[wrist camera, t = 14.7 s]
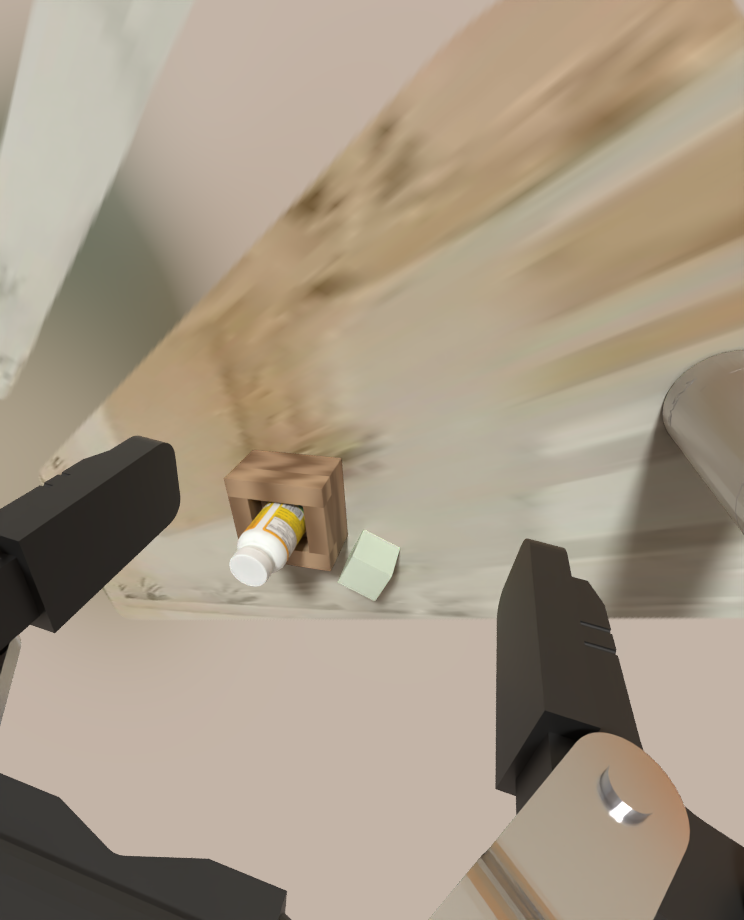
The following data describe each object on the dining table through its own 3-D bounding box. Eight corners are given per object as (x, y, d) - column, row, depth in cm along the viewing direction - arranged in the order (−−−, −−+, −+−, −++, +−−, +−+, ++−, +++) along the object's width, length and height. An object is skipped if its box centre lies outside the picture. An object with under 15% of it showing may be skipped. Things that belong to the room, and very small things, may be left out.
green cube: (400, 547, 53) (391, 576, 49) (384, 572, 56) (374, 601, 52) (364, 528, 53) (352, 556, 49) (349, 554, 56) (337, 582, 52)
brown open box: (341, 458, 49) (321, 489, 44) (347, 534, 54) (330, 571, 49) (252, 449, 52) (223, 478, 46) (267, 524, 57) (242, 557, 52)
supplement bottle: (308, 495, 48) (268, 553, 40) (314, 533, 50) (278, 595, 42) (263, 490, 49) (216, 546, 41) (271, 528, 52) (229, 588, 43)
